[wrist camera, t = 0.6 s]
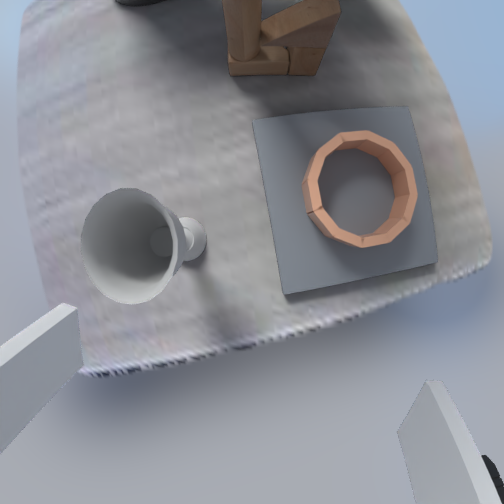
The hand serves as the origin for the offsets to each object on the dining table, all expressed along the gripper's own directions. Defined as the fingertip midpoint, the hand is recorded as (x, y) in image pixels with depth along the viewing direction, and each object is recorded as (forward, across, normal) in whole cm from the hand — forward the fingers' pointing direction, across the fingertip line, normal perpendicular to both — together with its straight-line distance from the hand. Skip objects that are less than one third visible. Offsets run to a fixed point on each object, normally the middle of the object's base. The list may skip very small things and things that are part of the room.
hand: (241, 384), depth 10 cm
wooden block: (+32, -4, +20) cm, 38 cm away
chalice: (+26, -10, -3) cm, 28 cm away
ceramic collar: (+28, +8, +6) cm, 30 cm away
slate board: (+29, +8, +6) cm, 31 cm away
